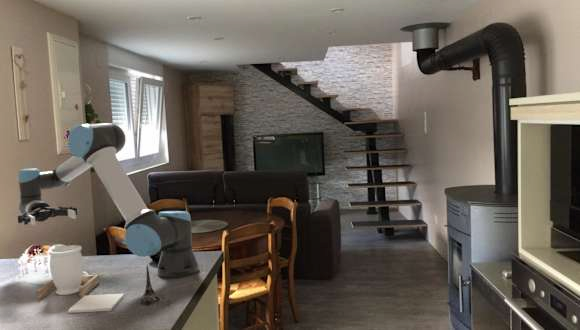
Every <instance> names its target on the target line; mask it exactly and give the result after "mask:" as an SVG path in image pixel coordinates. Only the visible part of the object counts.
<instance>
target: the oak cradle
mask: <svg viewBox="0 0 580 330" xmlns="http://www.w3.org/2000/svg"><path fill="white" fill-rule="evenodd" d="M100 281H101V280H100V275H99V274H85V275H84V274H83V278H82V282H81V284H80V285H81V286H82V287H80V288H79V292H78V293H79V298H83V297H84V296H85V295H87V294H88V293H90V292H91V291H92V290H93V289H94V288H96V287H97V286H98V285H99V284H100ZM54 290H57V288H56V286H55V285H54V282H53V279H52V280H50V281H49V282H47V283H45V284H44V285H42V287H40V288H39V289H37V290H36V296H37V300H42V299H44V297H46V296H47V295H49V294H50V293H52V292H53V291H54Z"/></svg>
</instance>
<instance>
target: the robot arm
mask: <svg viewBox="0 0 580 330" xmlns="http://www.w3.org/2000/svg"><path fill="white" fill-rule="evenodd" d="M125 144H126V134H125V131H124V130H123V128H121V127H120V126H119V125H117V124H115V123H112V122H111V123H110V122H103V123H83V124H77V125H75V126H73V128H72V129H71V130H70V132H69V135H68V140H67V145H68V146H67V147H68V149H69V152H70V154H71V155H72V156H71V157H70V158H68V159H67V160H66V161H64V162H63V163H61V164H60V165H58V166H57V167H56V168H54V169H52V170H47V171H40V169H39V168H37V167H35V168H34V167H31V168H30V167H29V168H23V169H22V168H21V169H20V170H18V185H19V194H20V195H19V196H20V197H19V198H20V202H19V204H18V210H19V212H20V214H19V215H17V223H18V224H22V223H24V225H25V226H26V225H29V224H30V225H32V226H36V222H39V223H41V222H45V221H46V220H49V218H56V217H63V216H64V217H66V216H68V218H70V219H74V220H76V219H77V217H76V216H77V215H78V209H77V207H73V206H70V207H63V206H57V207H51V206H50V204H49V203H47V202H45V201H43V200H42V199H43V198H42V191H47V190H54V189H59V188H65V187H68V186H70V185H72V182H73V179H75V178H76V177H78V176H80V175H82V174H83V173H84V172H86V171H87V170H89V169H91V168H93V169H94V171H95V172H96V174H97V176H98V177H99V179H100V181H101V182H102V184H103V186H104V187H105V189H106V191H107V193H108V194H109V196H110V197H111V199H112V201H113V202H114V204H115V206H116V208H117V209H118V210H119V213H120V214H121V216H122V217H123V219H124V220H125V225H124V230H125V233H124V238H125V239H124V242H125V245H126V247H127V249H128V250H129V251H130V253H132V255H136V256H138V257H142V258H143V257H144V258H145V257H149V256H150V255H154V254H156V253H158V252H160V251H161V256H160V260H159V261H158V263H157V265H158V266H157V275H158V276H160V277H161V278H179V277H180V278H181V277H182V278H183V277H186V276H187V277H188V276H190V275H193V274H197V272H199V269H200V267H199V262H198V259H197V257H196V254H195V253H194V250H193V235H192V233H193V231H192V219H191V214H190V213H189V212H188V211H185V210H184V211H182V210H165V211H159V212H158V214H157V212H156V211H155V209H151V208H150V209H149V208H148V206H147V205H146V203H145V202H144V200H143V199H142V197H141V195H140V194H139V192H138V191H137V189H136V187H135V185H134V184H133V182H132V180H131V179H130V177H129V175H128V174H127V173H126V172H127V171H125V169H124V168H123V165H122V164H121V163H120V161H119V159H118V158H117V157H116V154H118V153H119V152H120V151H122V150H123V148H124V147H125Z"/></svg>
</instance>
